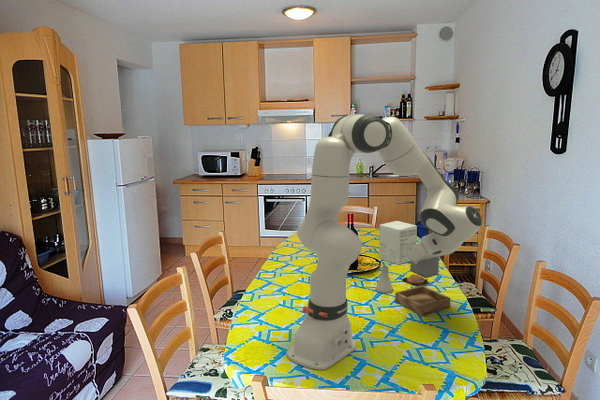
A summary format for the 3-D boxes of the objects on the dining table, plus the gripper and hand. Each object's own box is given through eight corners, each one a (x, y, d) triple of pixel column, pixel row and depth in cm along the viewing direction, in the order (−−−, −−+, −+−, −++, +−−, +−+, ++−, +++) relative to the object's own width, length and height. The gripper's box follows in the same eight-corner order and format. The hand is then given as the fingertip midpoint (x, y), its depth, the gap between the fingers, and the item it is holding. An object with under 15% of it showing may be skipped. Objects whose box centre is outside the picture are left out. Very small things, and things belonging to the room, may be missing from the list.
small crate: (438, 274, 146) (439, 251, 145) (426, 278, 144) (427, 254, 142) (422, 268, 153) (422, 245, 152) (410, 271, 151) (410, 248, 149)
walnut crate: (450, 307, 148) (450, 298, 148) (422, 316, 142) (422, 307, 141) (422, 293, 161) (422, 285, 160) (395, 301, 154) (395, 292, 153)
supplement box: (416, 259, 200) (417, 225, 196) (398, 265, 192) (399, 229, 189) (396, 252, 210) (397, 220, 207) (378, 258, 203) (378, 224, 200)
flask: (393, 294, 160) (394, 270, 159) (375, 293, 162) (375, 269, 160) (393, 287, 167) (393, 264, 166) (375, 286, 169) (376, 263, 167)
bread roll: (432, 284, 171) (433, 276, 170) (421, 289, 166) (421, 281, 165) (411, 277, 179) (411, 269, 178) (399, 282, 174) (400, 274, 173)
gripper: (461, 228, 144) (439, 247, 154) (418, 237, 135) (398, 257, 145) (471, 243, 141) (447, 262, 151) (428, 253, 132) (406, 272, 142)
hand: (423, 259), depth 148 cm, fingers closed on small crate, 6 cm apart
